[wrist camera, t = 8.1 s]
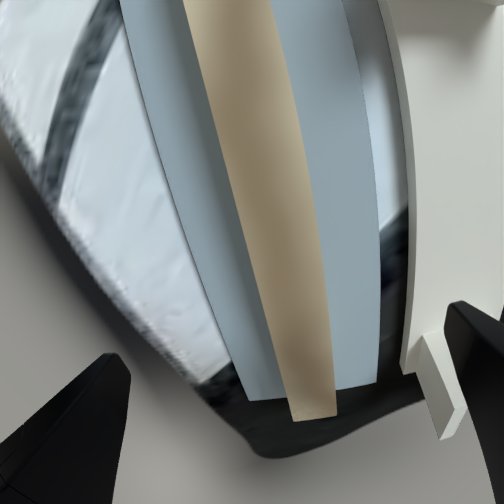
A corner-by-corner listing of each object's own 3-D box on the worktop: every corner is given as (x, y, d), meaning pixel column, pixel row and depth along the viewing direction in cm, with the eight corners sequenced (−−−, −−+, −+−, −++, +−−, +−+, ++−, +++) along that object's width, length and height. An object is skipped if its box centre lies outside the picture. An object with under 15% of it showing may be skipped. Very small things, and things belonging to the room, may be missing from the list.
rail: (245, -62, 9) (240, -90, 6) (332, 382, 22) (336, 415, 19) (183, -46, 10) (165, -70, 7) (292, 388, 22) (293, 421, 20)
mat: (311, -78, 9) (312, -83, 8) (374, 376, 22) (375, 382, 22) (117, -30, 10) (112, -33, 10) (249, 395, 24) (249, 400, 23)
